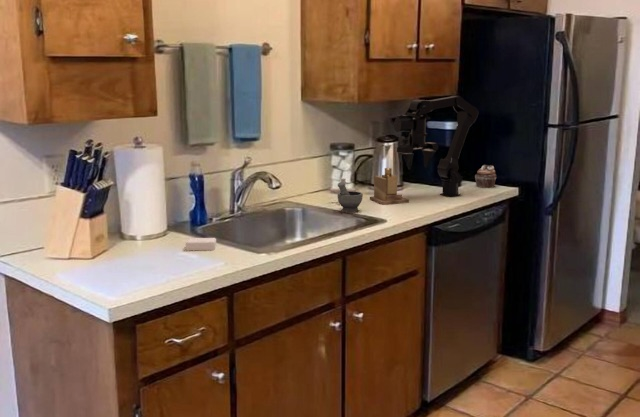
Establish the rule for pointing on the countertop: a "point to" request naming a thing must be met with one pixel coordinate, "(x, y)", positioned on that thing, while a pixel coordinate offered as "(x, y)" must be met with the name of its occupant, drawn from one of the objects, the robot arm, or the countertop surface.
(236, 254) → the countertop surface
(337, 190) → the pipe connector
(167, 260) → the countertop surface
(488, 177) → the cupcake
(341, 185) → the mortar and pestle
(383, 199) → the bronze stepped stand
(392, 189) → the bronze perfume bottle
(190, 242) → the soap
